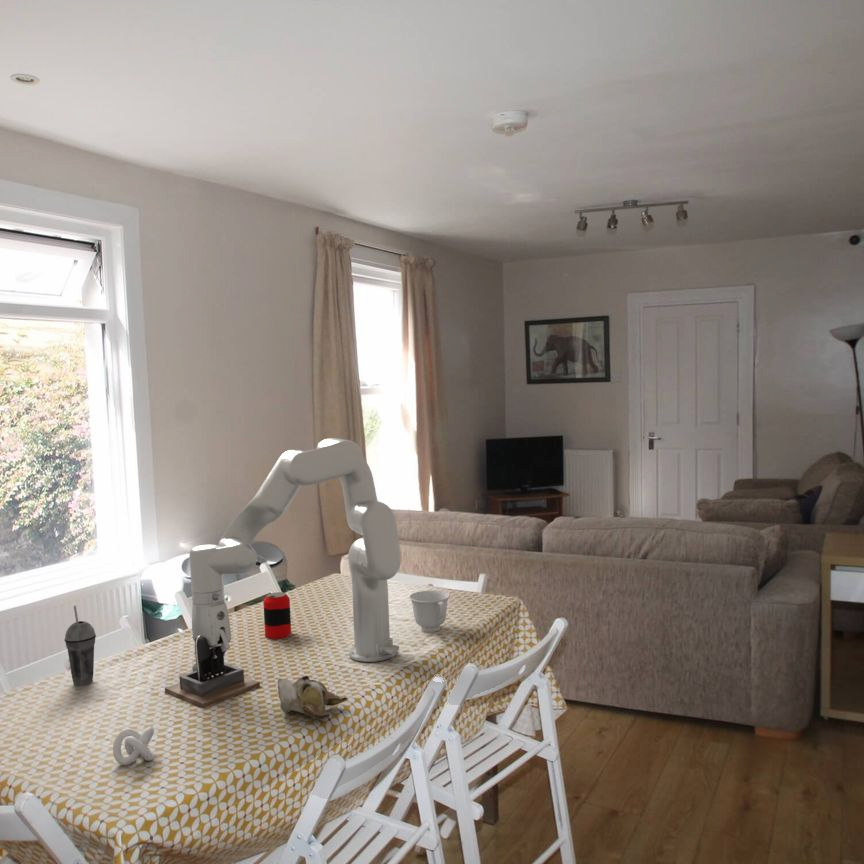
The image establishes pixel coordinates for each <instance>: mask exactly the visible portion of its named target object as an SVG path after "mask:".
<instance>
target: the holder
mask: <svg viewBox="0 0 864 864" xmlns="http://www.w3.org/2000/svg"><path fill="white" fill-rule="evenodd" d="M224 671H225V674H224V675H222V676H219V677H216V678H213V679H210V680H207V681H205V682H200V681H198V678H197V671H194V672H193V671H191V672H188V673H186V674H183V675H180V676H179V682H178V683H175V684H173V685H172V684H171V685H170V686H167V687H165V688H164V692H165V693H166V694H169V695H171V696H173V697H176V698H178V699H181V700H183V701H185V702H188V703H191V704H192V705H196V706H198V707H200V708H207V707H210V706H211V705H214V704H216V703H219V702H222V701H224V700H227V699H230V698H232V697H235V696H237V695H240V694H243V693H245V692H248V691H250V690H252V689H256V688H258V687H260V685H261V684H260V683H261V682H260V681H258V680H256V679H253V678H249V677H247V676H245V672H244V668H240V667H237V666H235V665H232V664H229V663H227V662H224Z"/></svg>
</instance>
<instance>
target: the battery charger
mask: <svg viewBox="0 0 864 864" xmlns="http://www.w3.org/2000/svg"><path fill="white" fill-rule="evenodd" d="M218 643H219V641H218ZM218 648H219V647H216V651H217V650H218ZM194 654H195V655H194V656H195V664H196V665H197V678H198V681H200V682H205V681H207V680H210V679H213V678H216V677H219V676H222V675H224V674H225V671H224V672H221V673H218V674H215V675H213V674H212V667H211V658H213V656H212V650H211V646H210V645H208V641H207V639H206V638H205V637H202V636H200V635H199V636H197V637H196V639H195V641H194Z"/></svg>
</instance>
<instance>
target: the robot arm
mask: <svg viewBox="0 0 864 864" xmlns="http://www.w3.org/2000/svg"><path fill="white" fill-rule="evenodd" d="M337 478H338V480H339V481H340V485H341V489H342V493H343V494H342V495H343V500H344V501H343V502H344V507H345V515H346V521H347V524H348V525H347V526H348V527H349V528H350V529H351V531H353V532H355V533H356V534H359V535H361V536H362V537H360V538H358V539H356V540H355V541H353V542H352V544H351V545H350V548H349V551H348V556H347V560H348V566H349V567H348V568H349V572H350V578H351V579H350V580H351V587H352V588H351V589H352V591H351V592H352V610H353V611H352V612H353V613H352V615H353V616H352V617H353V639H354V646H353V647H351V648H350V649H349V651H348V654H349V656H348V657H349V658H351V659H352V660H353V661H354V660H355V661H358V662H361V663H362V662H363V663H374V662H375V663H376V662H382V661H386V660H389V659H391V658H393V657H394V656H396V654H398V653H397V652H398V651H399V650H400V646H399V645H396V644H394V643H393V638H392V637H391V633H390V611H389V586H388V580H390V579H392V578H394V576H396V575H397V573H398V572H399V570H400V567H401V562H402V556H401V554H402V553H401V546H400V540H399V532H398V526H397V525H398V523H397V520H396V517H395V514H394V512H393V511H392V509H391V508H390V507H389V505H388V504H385V503H383V502H381V501H379V500H378V497H377V491H376V487H375V482H374V476H373V473H372V470H371V468H370V465H369V464H368V463H367V461H366V459H365V458H364V455H363V450H362V449H361V447H360V445H359V444H358V443H356V442H355V441H353V440H350V439H343V438H337V437H328V438H324V439H323V440H321V441H320V442H318V444H317V446H316V448H313V449H310V450H309V449H308V450H299V449H288V450H286V451H284V452H283V453H282V454H281V455H280V456H279V458H278V459H277V461H276V462H275V463H274V466H273V467H272V469H271V470H270V471H269V473H268V475H267V476H266V477H265V479H264V481H263V483H262V484H261V486H260V487H259V488H258V490H257V492H256V493H255V495H254V497H253V498H252V499H251V500H250V501H249V502H248V503H247V504H246V505H245V506H244V507H243V508H242V509H241V510H240V512H239V513H237V514H236V516H235V517H234V518H233V520H232V521H231V522H230V524H229V526H228V527H227V528H226V530H225V532H224V533H223V535H222V537H220V540H219V542H218V544H200V545H196V546H194V547H192V548H191V549H190V550H189V569H190V585H191V587H190V588H191V589H190V590H191V603H192V605H191V606H192V609H191V631H192V639H193V641H194V642H195V639H196V637H197V636H199V635H200V636H202V637H205V638H206V639H207V641H208V645H210V646H211V650H212V656H213V658H211V667H212V674H213V675H215V674H218V673H221V672H224V663H225V658H224V656H225V655H226V652H227V651H228V650H229V649H230V648H231V647H230V646H231V645H230V642H231V641H232V632H231V623H230V615H229V610H228V606H227V603H226V600H225V583H224V575H241V574H242V575H243V574H246V573H248V572H250V571H252V570H253V568H255V566H256V564H257V561H258V555H257V551H256V550H255V549H254V548H253V547H252V545H251V544H252V543H253V541H254V540H255V539H256V537H257V535H259V533H260V532H261V531H262V530H263V529H265V527H266V526H267V525H270V524H271V523H273V522H275V521H277V520H279V519H280V518H281V517H283V516H284V515H285V513H286V511H287V510H288V509H289V507H290V505H291V504H292V501H293V500H294V498H295V497H296V495H297V493H298V492H299V490H300V489H301V488H302V486H304V487H305V486H307V487H308V486H313V485H316V484H321V483H325V482H327V481H330V480H334V479H337ZM218 641H219V643H218ZM216 647H219V648H218V650H217V651H216Z"/></svg>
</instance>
